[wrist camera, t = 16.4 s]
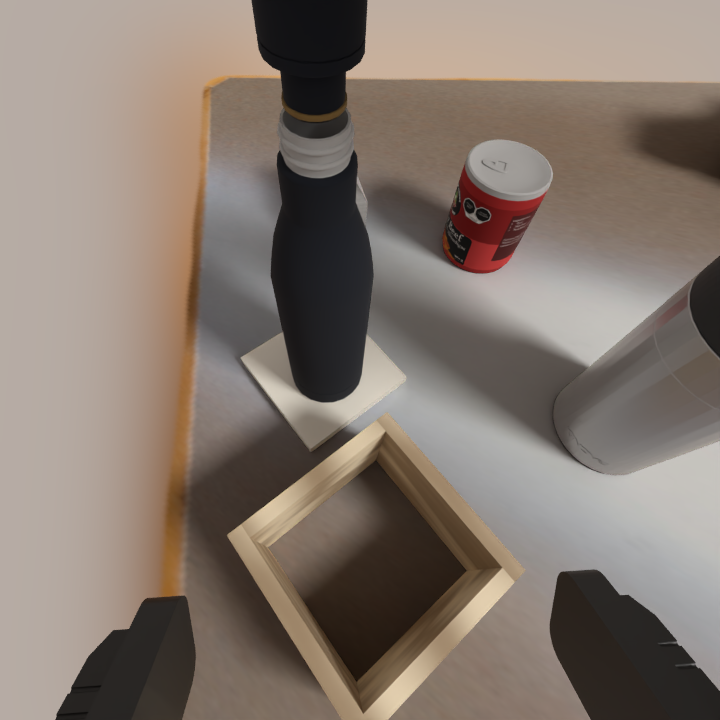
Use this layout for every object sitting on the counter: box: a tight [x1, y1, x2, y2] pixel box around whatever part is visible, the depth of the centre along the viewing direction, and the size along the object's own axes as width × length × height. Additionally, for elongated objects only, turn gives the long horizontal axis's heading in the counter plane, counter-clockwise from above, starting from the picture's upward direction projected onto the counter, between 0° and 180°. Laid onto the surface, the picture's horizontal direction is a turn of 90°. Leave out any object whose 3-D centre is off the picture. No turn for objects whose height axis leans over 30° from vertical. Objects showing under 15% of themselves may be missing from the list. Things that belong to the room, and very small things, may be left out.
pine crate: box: [227, 412, 526, 720], centre depth 30 cm, size 13×13×8 cm
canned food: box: [442, 140, 553, 273], centre depth 44 cm, size 8×8×11 cm
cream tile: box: [241, 332, 407, 452], centre depth 40 cm, size 11×11×1 cm
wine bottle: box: [252, 0, 373, 403], centre depth 26 cm, size 6×6×30 cm
